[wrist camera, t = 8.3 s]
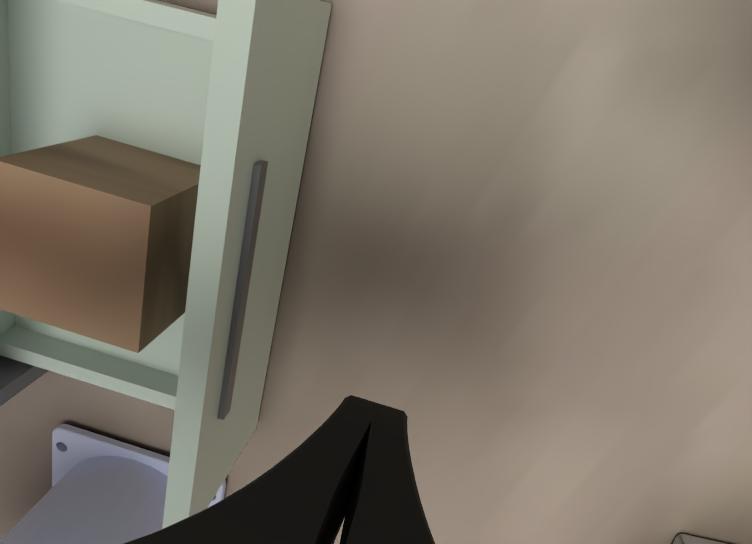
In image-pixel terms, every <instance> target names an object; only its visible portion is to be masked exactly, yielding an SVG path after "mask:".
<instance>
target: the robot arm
mask: <svg viewBox="0 0 752 544" xmlns="http://www.w3.org/2000/svg"><path fill="white" fill-rule="evenodd" d="M169 460H170V457H167V456H164V455H161V454H158V453H155V452H152V451H149V450H146V449H143V448H139V447H136V446H133V445H130V444H127V443H124V442H121V441H118V440H115V439H111V438H108V437H105V436H102V435H99V434H96V433H93V432H90V431H87V430H83V429H80V428H77V427H74V426H71V425H68V424H60V425H59V426H58V427H56V428H55V429H54V430H53V432H52V488H51V489H50V490H49V491H48V492H47V493H46V494H45V495H44V496H43V497H42V498H41V499H40V500H39V501H38V502H37V503H36V504H35V505H34V506H33V507H32V508H31V509H30V510H29V511H28V513H27V514H26V515H25V516H24V517H23V518H22V519H21V520H20V521H19V522H18V523H17V524H16V525H15V526H14V527H13V528H12V529H11V530H10V531H9V532H8V533H7V534H6V535H5V536H4V537H3V538H2V539H1V540H0V544H334V541H335V539H336V536H337V534H338V532H339V529H340V527H341V524H342V522H343V520H344V524H343V529H342V534H341V539H340V544H435V542H434V540H433V537H432V535H431V532H430V529H429V526H428V523H427V520H426V517H425V514H424V511H423V507H422V504H421V501H420V497H419V493H418V489H417V486H416V481H415V477H414V472H413V468H412V463H411V457H410V451H409V444H408V435H407V416H406V414H405V412H404V411H401V410H398V409H395V408H391V407H388V406H385V405H381V404H378V403H375V402H372V401H368V400H365V399H362V398H358V397H355V396H352V395H351V396H348V397H346V398H345V399H344V400H343V402H342V403H341V404H340V406H339V407H338V408H337V409H336V411H335V412H334V413H333V414H332V415H331V416H330V417H329V418H328V419H327V420H326V421H325V422H324V423H323V424H322V426H321V427H319V428H318V429H317V430H316V431H315V432H314V433H313V434H312V435H311V436H310V437H309V438H308V439H307V440H306V441H304V442H303V443H302V444H301V445H300V446H299V447H298V448H296V449H295V450H294V451H293V452H291V453H290V454H289V455H288V456H287V457H285V458H284V459H283V460H282V461H280V462H279V463H278V464H277V465H275V466H274V467H273V468H271V469H270V470H268V471H267V472H266V473H264V474H263V475H261V476H260V477H259V478H257V479H256V480H254V481H252V482H251V483H249V484H248V485H246V486H245V487H243V488H242V489H240V490H238V491H237V492H235V493H233V494H232V495H230V496H228V497H226V498H225V499H224V494H225V488H226V481H225V480H224V482H223V483H222V485H221V487H220V488H219V490H218V491H217V493H216V495H215V496H214V498H213V500H212V501H211V503H210V505H209V506H208V508H207V509H205V510H203V511H201V512H199V513H196V514H194V515H192V516H190V517H188V518H186V519H183V520H181V521H179V522H177V523H175V524H172V525H170V526H168V527H166V528H164V529H162V526H163V517H164V507H165V498H166V488H167V479H168V469H169ZM344 517H345V519H344Z"/></svg>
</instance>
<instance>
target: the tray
mask: <svg viewBox="0 0 752 544" xmlns="http://www.w3.org/2000/svg"><path fill="white" fill-rule="evenodd" d="M331 6H332V4H331V3H327V2H323V1H320V0H218V7H217V15H214V14H210V13H206V12H202V11H198V10H194V9H190V8H186V7H182V6H178V5H174V4H170V3H166V2H162V1H158V0H0V157H2V156H6V155H10V154H15V153H19V152H24V151H28V150H33V149H37V148H42V147H46V146H50V145H55V144H59V143H64V142H68V141H73V140H77V139H81V138H86V137H90V136H95V135H98V136H101V137H105V138H108V139H111V140H115V141H118V142H122V143H125V144H129V145H132V146H136V147H139V148H143V149H146V150H149V151H153V152H156V153H160V154H163V155H167V156H170V157H174V158H177V159H181V160H184V161H187V162H191V163H194V164H198V165H201V167H200V177H199V186H198V196H197V205H196V214H195V224H194V233H193V243H192V252H191V262H190V271H189V281H188V290H187V299H186V309H185V313H184V314H183V315H182V316H180V317H179V318H178V319H177V320H176V321H175V322H174V323H172V324H171V325H170V326H169V327H168V328H167V329H166V330H164V331H163V332H162V333H161V334H160V335H159V336H158V337H156V338H155V339H154V340H153V341H152V342H151V343H149V344H148V345H147V346H146V347H145V348H144V349H143V350H141V351H140V352H139V353H136V352H133V351H129V350H126V349H123V348H120V347H117V346H114V345H111V344H108V343H104V342H101V341H98V340H95V339H92V338H89V337H86V336H82V335H79V334H76V333H73V332H70V331H67V330H64V329H61V328H57V327H54V326H51V325H48V324H45V323H42V322H39V321H35V320H32V319H29V318H26V317H23V316H20V315H17V314H14V313H10V312H7V311H4V310H1V309H0V355H1V356H4V357H8V358H11V359H14V360H17V361H20V362H23V363H27V364H30V365H33V366H36V367H39V368H42V369H46V370H49V371H52V372H55V373H58V374H62V375H65V376H68V377H71V378H74V379H77V380H81V381H84V382H87V383H90V384H93V385H97V386H100V387H103V388H106V389H109V390H112V391H116V392H119V393H122V394H125V395H128V396H132V397H135V398H138V399H141V400H144V401H147V402H151V403H154V404H157V405H160V406H163V407H167V408H170V409H173V410H175V413H174V422H173V432H172V441H171V451H170V460H169V469H168V479H167V488H166V498H165V507H164V517H163V526H162V529H164V528H166V527H168V526H170V525H172V524H175V523H177V522H179V521H181V520H183V519H186V518H188V517H190V516H192V515H194V514H196V513H199V512H201V511H203V510H205V509H207V508H208V506H209V505H210V503H211V501H212V500H213V498H214V496H215V495H216V493H217V491H218V490H219V488H220V487H221V485H222V483H223V482H224V480H225V478H226V477H227V475H228V473H229V472H230V470H231V469H232V467H233V465H234V464H235V462H236V460H237V459H238V457H239V455H240V454H241V452H242V451H243V449H244V447H245V446H246V444H247V442H248V441H249V439H250V438H251V436H252V434H253V433H254V431H255V429H256V428H257V422H258V417H259V411H260V406H261V400H262V394H263V389H264V383H265V377H266V372H267V366H268V361H269V355H270V349H271V344H272V338H273V332H274V327H275V321H276V316H277V310H278V304H279V299H280V293H281V287H282V282H283V276H284V271H285V265H286V259H287V254H288V248H289V242H290V237H291V231H292V226H293V220H294V214H295V209H296V203H297V197H298V192H299V186H300V181H301V175H302V169H303V164H304V158H305V152H306V147H307V141H308V136H309V130H310V124H311V119H312V113H313V107H314V102H315V96H316V90H317V85H318V79H319V74H320V68H321V62H322V57H323V51H324V45H325V40H326V34H327V29H328V23H329V17H330V12H331Z"/></svg>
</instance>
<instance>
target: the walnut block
mask: <svg viewBox="0 0 752 544" xmlns="http://www.w3.org/2000/svg"><path fill="white" fill-rule="evenodd" d="M200 167H201V165H198V164H194V163H191V162H187V161H184V160H181V159H177V158H174V157H170V156H167V155H163V154H160V153H156V152H153V151H149V150H146V149H143V148H139V147H136V146H132V145H129V144H125V143H122V142H118V141H115V140H111V139H108V138H105V137H101V136H98V135H95V136H90V137H86V138H81V139H77V140H73V141H68V142H64V143H59V144H55V145H50V146H46V147H42V148H37V149H33V150H28V151H24V152H19V153H15V154H10V155H6V156H2V157H0V309H1V310H4V311H7V312H10V313H14V314H17V315H20V316H23V317H26V318H29V319H32V320H35V321H39V322H42V323H45V324H48V325H51V326H54V327H57V328H61V329H64V330H67V331H70V332H73V333H76V334H79V335H82V336H86V337H89V338H92V339H95V340H98V341H101V342H104V343H108V344H111V345H114V346H117V347H120V348H123V349H126V350H129V351H133V352H136V353H139V352H140V351H141V350H143V349H144V348H145V347H146V346H147V345H148V344H149V343H151V342H152V341H153V340H154V339H155V338H156V337H158V336H159V335H160V334H161V333H162V332H163V331H164V330H166V329H167V328H168V327H169V326H170V325H171V324H172V323H174V322H175V321H176V320H177V319H178V318H179V317H180V316H182V315H183V314H184V313H185V309H186V299H187V290H188V281H189V271H190V262H191V252H192V243H193V233H194V224H195V214H196V205H197V196H198V186H199V177H200Z"/></svg>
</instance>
